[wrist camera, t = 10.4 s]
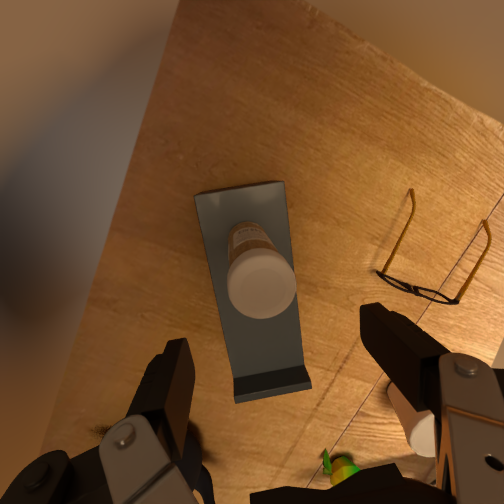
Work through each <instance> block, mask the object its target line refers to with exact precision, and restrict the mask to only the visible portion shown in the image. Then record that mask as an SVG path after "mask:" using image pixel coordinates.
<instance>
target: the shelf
mask: <svg viewBox="0 0 504 504" xmlns="http://www.w3.org/2000/svg"><path fill="white" fill-rule="evenodd" d="M194 200H195V205H196V209H197V214H198V218H199V223H200V228H201V232H202V237H203V241H204V246H205V250H206V255H207V260H208V264H209V269H210V273H211V278H212V282H213V287H214V292H215V296H216V301H217V305H218V310H219V315H220V319H221V324H222V328H223V333H224V337H225V342H226V347H227V351H228V356H229V360H230V365H231V369H232V374H233V382H234V400H235V404H237V403H242V402H247V401H252V400H257V399H262V398H267V397H272V396H277V395H282V394H288V393H293V392H298V391H303V390H308V389H312V384H311V380H310V377H309V375H308V372H307V370H306V367H305V365H304V357H303V348H302V339H301V329H300V320H299V311H298V302H297V293H295V296H294V298H293V300H292V302H291V304H290V305H289V306H288V307H287V308H286V309H285V310H284V311H283V312H281V313H280V314H278V315H276V316H273V317H270V318H265V319H256V318H251V317H248V316H246V315H243V314H242V313H240V312H239V311H238V310H237V309H236V308H235V307H234V306H233V304H232V303H231V301H230V298H229V295H228V288H227V275H228V271H229V257H228V237H229V233H230V231H231V230H232V229H233V228H234V227H235V226H236V225H238V224H239V223H242V222H253V223H256V224H258V225H260V226H261V227H262V228H263V229H264V231H265V233H266V235H267V236H268V237H269V239H270V240H271V242H272V243H273V245H274V246H275V247H276V249H277V251H278V252H279V254H280V255H282V256H283V257H284V258H285V260H286V261H287V262H288V264H289V265H290V267H291V268H292V270H293V272H294V266H293V257H292V248H291V239H290V230H289V221H288V212H287V203H286V194H285V184H284V181H266V182H259V183H253V184H247V185H241V186H235V187H228V188H222V189H216V190H210V191H204V192H201V193H198V194H196V195H194Z"/></svg>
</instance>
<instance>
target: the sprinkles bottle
mask: <svg viewBox="0 0 504 504" xmlns="http://www.w3.org/2000/svg"><path fill="white" fill-rule="evenodd" d="M228 257H229V271H228V275H227V288H228V295H229V298H230V301H231V303H232V304H233V306H234V307H235V308H236V309H237V310H238V311H239V312H240V313H242V314H243V315H246V316H248V317H251V318H256V319H265V318H270V317H273V316H276V315H278V314H280V313H281V312H283V311H284V310H285V309H286V308H287V307H288V306H289V305H290V304H291V302H292V300H293V298H294V296H295V293H296V278H295V275H294V272H293V270H292V268H291V267H290V265H289V264H288V262H287V261H286V260H285V258H284V257H283V256H282V255H280V254H279V252H278V251H277V249H276V247H275V246H274V245H273V243H272V242H271V240H270V239H269V237H268V236H267V235H266V233H265V231H264V229H263V228H262V227H261V226H260V225H258V224H256V223H253V222H242V223H239V224H238V225H236V226H235V227H234V228H233V229H232V230H231V231H230V233H229V237H228Z"/></svg>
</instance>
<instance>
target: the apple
mask: <svg viewBox="0 0 504 504" xmlns="http://www.w3.org/2000/svg"><path fill="white" fill-rule="evenodd" d="M323 465H324V468H323V474H328V475H330V482H331V484H332V485H333V486H335V485H336V484H338V483H340V482H341V481H343V480H345V479H346V478H348V477H349V476H351V475H353V474H354V473H356V472H358V471H359V470H360V469H359V468H358V467H357V466H356V465H355V464H353V463H352V462H351V461H350V460H349V459H347V458H346V457H345V456H342V457H339V458H337V459H335V460H334V462H333V463H332V464H331V460H330V458H329V455H328V453H327V450H326V448H325V453H324V458H323ZM325 468H326V469H325Z"/></svg>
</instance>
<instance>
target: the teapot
mask: <svg viewBox="0 0 504 504" xmlns="http://www.w3.org/2000/svg"><path fill="white" fill-rule="evenodd" d="M174 463H175V464H176V465H177V467H178V469H179V470H180V472H181V474H182V476H183V477H184V479H185V481H186V482H187V484H188V486H189V488H190V489H191V491H192V492H193V490H194V489H195V490H197V491H198V492H199V493H200V494H201V496H202V498H203V501H204V504H215V501H214V493H213V484H212V479H211V476H210V473H209V471H208V470H207V469H206V467H205V466H203V465H202V450H201V446H200V444H199V442H198V440H197V439H196V437H195V436H194V435H193V434H192V433H191V432H190V431H189V430H188V429H187V431H186V437H185V443H184V448H183V454H182V460H178V461H174Z"/></svg>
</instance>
